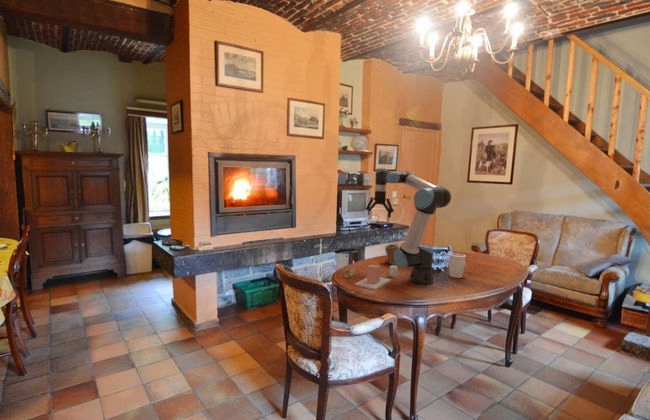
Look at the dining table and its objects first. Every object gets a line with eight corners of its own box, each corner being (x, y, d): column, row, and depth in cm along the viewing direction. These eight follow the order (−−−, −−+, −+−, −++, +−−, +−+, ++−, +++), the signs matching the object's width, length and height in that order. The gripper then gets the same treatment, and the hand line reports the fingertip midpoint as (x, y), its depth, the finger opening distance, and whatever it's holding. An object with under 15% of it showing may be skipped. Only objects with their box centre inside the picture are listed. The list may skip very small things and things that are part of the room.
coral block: (380, 281, 228) (380, 265, 227) (375, 283, 223) (376, 267, 222) (371, 279, 232) (372, 264, 230) (367, 281, 227) (367, 266, 225)
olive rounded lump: (354, 276, 239) (355, 269, 239) (350, 278, 235) (351, 271, 235) (348, 275, 242) (348, 268, 241) (344, 277, 238) (344, 269, 237)
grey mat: (391, 281, 233) (391, 279, 232) (375, 290, 215) (375, 288, 215) (371, 276, 241) (371, 275, 240) (354, 285, 223) (354, 283, 222)
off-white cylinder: (398, 276, 243) (398, 266, 242) (395, 278, 239) (395, 267, 238) (391, 274, 246) (391, 264, 245) (388, 276, 242) (388, 266, 241)
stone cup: (381, 263, 275) (382, 243, 273) (392, 261, 282) (393, 242, 280) (395, 268, 263) (396, 247, 261) (407, 266, 269) (408, 246, 267)
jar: (464, 275, 250) (466, 254, 248) (463, 279, 241) (465, 257, 239) (448, 273, 254) (450, 252, 252) (446, 276, 245) (448, 255, 243)
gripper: (399, 191, 246) (397, 222, 249) (367, 189, 260) (365, 218, 263) (395, 192, 240) (393, 223, 243) (361, 189, 254) (360, 219, 257)
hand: (378, 221), depth 253 cm, fingers open, 13 cm apart
